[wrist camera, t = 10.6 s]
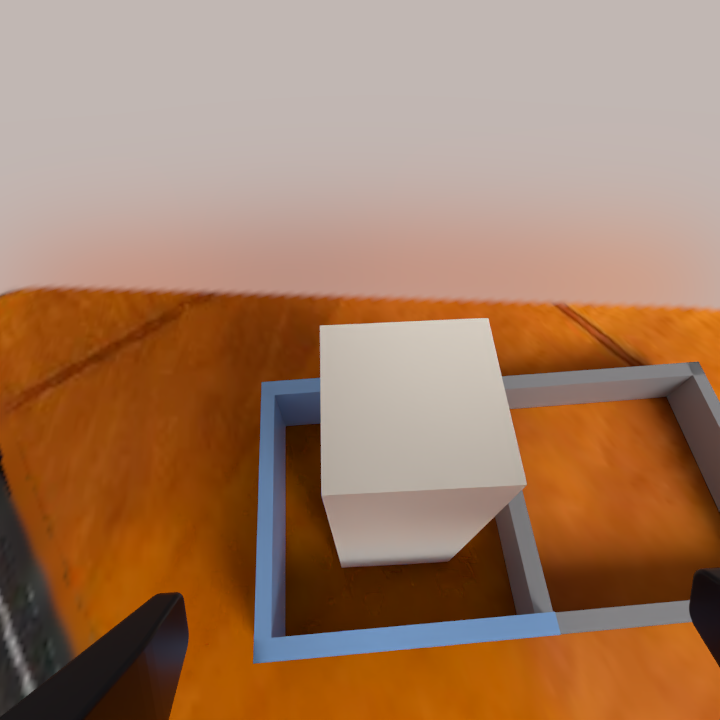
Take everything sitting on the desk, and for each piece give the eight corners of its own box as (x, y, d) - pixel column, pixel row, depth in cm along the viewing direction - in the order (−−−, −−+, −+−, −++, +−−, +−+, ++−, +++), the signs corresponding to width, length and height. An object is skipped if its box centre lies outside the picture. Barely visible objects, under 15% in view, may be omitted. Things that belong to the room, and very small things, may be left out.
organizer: (671, 384, 22) (713, 349, 19) (779, 612, 17) (855, 606, 14) (274, 414, 21) (261, 382, 18) (270, 660, 16) (253, 663, 14)
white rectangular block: (448, 561, 18) (526, 484, 9) (341, 567, 18) (321, 495, 9) (434, 458, 20) (488, 317, 11) (338, 463, 20) (319, 325, 11)
